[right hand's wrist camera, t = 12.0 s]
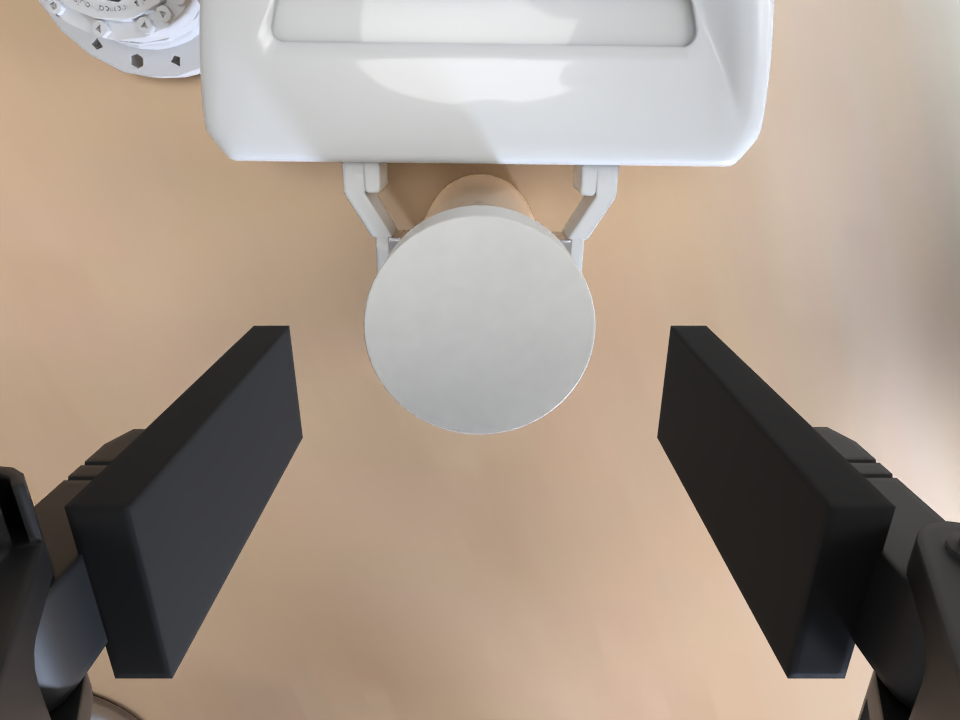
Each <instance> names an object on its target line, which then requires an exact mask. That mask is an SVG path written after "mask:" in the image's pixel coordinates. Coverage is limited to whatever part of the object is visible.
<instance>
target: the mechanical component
mask: <svg viewBox="0 0 960 720" xmlns="http://www.w3.org/2000/svg"><path fill="white" fill-rule="evenodd" d="M39 2H40V3H41V4H42V6H43V7H44V8H45V10H46V11H47V12H48V14H49V15H50V16H51V18H52V19H53V20H54V22H55V23H56V24H57V26H58V27H59V28H60V30H61V31H62V32H64V33H65V34H66V35H67V36H68V37H69V38H71V39H72V40H73V41H74V42H75V43H77V44H78V45H79V46H80V47H81V48H83V49H84V50H85V51H86V52H87V53H88V54H90V55H91V56H93V57H95V58H97V59H99V60H101V61H103V62H105V63H107V64H109V65H111V66H113V67H115V68H117V69H118V70H120V71H122V72H126V73H131V74H137V75H142V76H147V77H156V78H181V77H189V76H193V75H197V74H200V48H199V23H200V4H199V2H198V0H39ZM143 64H144V66H143Z"/></svg>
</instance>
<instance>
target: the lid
mask: <svg viewBox="0 0 960 720" xmlns="http://www.w3.org/2000/svg"><path fill="white" fill-rule="evenodd" d="M364 335H365V342H366V347H367V352H368V355H369V358H370V361H371V364H372V366H373V368H374V370H375V372H376V374H377V376H378V378H379V380H380V381H381V383H382V384H383V386H384V387H385V388H386V390H387V391H388V392H389V393H390V394H391V396H392V397H393V398H394V399H395V400H396V401H397V402H398V403H399V404H400V405H402V406H403V407H404V408H405V409H406V410H408V411H409V412H410V413H412V414H413V415H415V416H416V417H418V418H420V419H422V420H424V421H425V422H427V423H429V424H432V425H434V426H437V427H440V428H442V429H445V430H450V431H454V432H458V433H466V434H493V433H501V432H506V431H510V430H514V429H517V428H520V427H523V426H525V425H528V424H530V423H532V422H534V421H536V420H538V419H540V418H541V417H543V416H544V415H546V414H547V413H549V412H550V411H552V410H553V409H554V408H555V407H557V406H558V405H559V404H560V403H561V402H562V401H563V400H564V399H565V398H566V397H567V396H568V395H569V394H570V393H571V392H572V390H573V389H574V387H575V386H576V385H577V383H578V382H579V380H580V379H581V377H582V375H583V373H584V371H585V369H586V367H587V364H588V362H589V359H590V356H591V353H592V349H593V344H594V338H595V311H594V306H593V301H592V296H591V293H590V291H589V288H588V285H587V282H586V281H585V279H584V277H583V275H582V273H581V271H580V269H579V268H578V266H577V264H576V263H575V261H574V260H573V258H572V256H571V255H570V253H569V252H568V251H567V249H566V248H565V246H564V245H563V244H562V243H561V241H560V240H559V239H558V238H557V237H556V236H555V235H554V234H553V233H552V232H550V231H549V230H548V229H547V228H546V227H544V226H543V225H542V224H540V223H538V222H537V221H535V220H534V219H532V218H530V217H528V216H526V215H523V214H521V213H519V212H517V211H513V210H509V209H506V208H502V207H495V206H488V205H472V206H464V207H457V208H454V209H450V210H446V211H443V212H441V213H438V214H436V215H433V216H431V217H429V218H428V219H426V220H424V221H422V222H421V223H419V224H418V225H416V226H415V227H414V228H413V229H411V230H410V231H409V232H407V233H406V234H405V236H404V237H403V238H402V239H401V240H400V241H399V242H398V243H397V244H396V245H395V247H394V248H393V250H392V251H391V252H390V254H389V255H388V257H387V258H386V260H385V262H384V263H383V265H382V266H381V268H380V270H379V272H378V273H377V275H376V277H375V279H374V281H373V283H372V286H371V289H370V291H369V294H368V297H367V302H366V307H365V314H364Z"/></svg>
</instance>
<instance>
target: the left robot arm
mask: <svg viewBox="0 0 960 720" xmlns="http://www.w3.org/2000/svg"><path fill="white" fill-rule="evenodd" d="M198 2H199V4H200V23H199V48H200V76H201V92H202V104H203V114H204V122H205V127H206V130H207V132H208V134H209V136H210V137H211V138H212V140H213V141H214V142H215V143H216V144H217V145H218V146H219V148H220V149H221V150H222V151H223V152H224V153H225V154H226V155H227V156H228V157H229V158H230V159H232V160H236V161H295V162H342V167H343V181H344V194H345V195H346V197H347V198H348V200H349V201H350V203H351V204H352V206H353V208H354V209H355V211H356V212H357V214H358V215H359V217H360V218H361V220H362V222H363V223H364V225H365V226H366V228H367V229H368V231H369V232H370V234H371V236H372V237H376V252H377V271H378V272H379V270H380V268H381V266H382V265H383V263H384V262H385V260H386V258H387V257H388V255H389V254H390V252H391V251H392V250H393V248H394V247H395V245H396V244H397V243H398V242H399V241H400V240H401V239H402V238H403V237H404V236H405V234H406V233H407V232H409V231H410V230H397V227H396V226H395V224H394V222H393V220H392V219H391V217H390V215H389V214H388V212H387V210H386V208H385V207H384V205H383V203H382V202H381V200H380V198H379V196H378V195H377V193H378V192H379V191H381V190H382V189H383V188H384V187H385V186H386V185H387V184H388V181H387V163H466V164H551V165H574V184H573V187H574V188H575V189H576V190H577V191H579V192H580V193H581V194H582V195H584V196H583V198H582V200H581V201H580V203H579V204H578V206H577V208H576V209H575V211H574V213H573V214H572V216H571V217H570V219H569V221H568V222H567V224H566V226H565V227H564V229H563V230H562V231H563V232H552V233H553V234H554V235H555V236H556V237H557V238H558V239H559V240H560V241H561V243H562V244H563V245H564V246H565V248H566V249H567V251H568V252H569V253H570V255H571V256H572V258H573V260H574V261H575V263H576V264H577V266H578V268H579V269H580V271H581V273H582V260H583V247H584V240H587V239H588V238H589V236H590V235H591V233H592V232H593V230H594V229H595V227H596V226H597V224H598V223H599V221H600V220H601V219H602V217H603V216H604V214H605V213H606V211H607V210H608V208H609V207H610V205H611V204H612V202H613V201H614V199H615V198H616V194H617V183H618V173H619V165H636V166H727V167H728V166H732V165H734V164H735V163H736V162H737V161H738V160H739V159H740V158H741V157H742V156H743V155H744V154H745V153H746V152H747V150H748V149H749V148H750V147H751V146H752V145H753V144H754V142H755V141H756V140H757V138H758V136H759V133H760V130H761V126H762V122H763V117H764V111H765V104H766V98H767V90H768V82H769V73H770V64H771V52H772V38H773V16H774V0H198Z"/></svg>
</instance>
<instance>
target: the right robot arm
mask: <svg viewBox="0 0 960 720" xmlns="http://www.w3.org/2000/svg"><path fill="white" fill-rule="evenodd" d="M302 438H303V436H302V428H301V420H300V411H299V403H298V395H297V387H296V378H295V370H294V362H293V354H292V345H291V337H290V329H289V326H253V327H252V328H251V329H250V330H249V331H248V332H247V333H246V334H245V335H244V336H243V337H242V338H241V339H240V340H239V341H238V342H236V343H235V344H234V345H233V346H232V347H231V348H230V349H229V350H228V351H227V352H226V353H225V354H224V355H223V356H222V357H221V358H220V359H219V360H218V361H217V362H215V363H214V364H213V365H212V366H211V367H210V368H209V369H208V370H207V371H206V372H205V373H204V374H203V375H202V376H201V377H200V378H199V379H198V380H197V381H196V382H195V383H193V384H192V385H191V386H190V387H189V388H188V389H187V390H186V391H185V392H184V393H183V394H182V395H181V396H180V397H179V398H178V399H177V400H176V401H175V402H174V403H173V404H171V405H170V406H169V407H168V408H167V409H166V410H165V411H164V412H163V413H162V414H161V415H160V416H159V417H158V418H157V419H156V420H155V421H154V422H153V423H152V424H150V425H149V426H148V427H147V428H146V429H133V430H131V431H129V432H127V433H125V434H123V435H122V436H120V437H118V438H116V439H114V440H112V441H110V442H108V443H106V444H104V445H103V446H102V447H101V448H100V449H99V450H98V451H97V452H95V453H94V454H93V455H92V456H91V457H90V458H89V459H88V460H86V461H85V465H81V466H80V467H79V468H77V469H76V470H75V471H74V472H73V473H72V474H71V475H70V476H68V480H64V481H63V482H62V483H61V484H59V485H58V486H57V487H56V488H55V489H54V490H53V491H52V492H50V493H49V494H48V495H47V496H46V497H45V498H44V499H43V500H41V501H40V502H39V503H38V504H37V505H36V506H35V507H34V505H33V502H32V499H31V496H30V493H29V490H28V487H27V484H26V480H25V477H24V474H23V473H21V472H19V471H18V470H16V469H14V468H11V467H1V466H0V720H138V719H137V718H135V717H134V716H133V715H131V714H130V713H128V712H127V711H125V710H123V709H122V708H120V707H118V706H116V705H114V704H112V703H110V702H108V701H106V700H104V699H101V698H99V697H96V696H93V694H92V687H91V683H90V680H89V677H88V674H87V671H88V670H89V669H90V667H91V666H92V664H93V663H94V661H95V660H96V659H97V657H98V656H99V654H100V653H101V651H102V650H103V649H104V647H105V646H106V649H107V652H108V656H109V659H110V662H111V666H112V669H113V672H114V676H115V678H173V676H174V674H175V672H176V670H177V668H178V667H179V665H180V663H181V661H182V659H183V657H184V656H185V654H186V652H187V650H188V648H189V646H190V644H191V643H192V641H193V639H194V637H195V635H196V633H197V632H198V630H199V628H200V626H201V624H202V622H203V620H204V619H205V617H206V615H207V613H208V611H209V609H210V608H211V606H212V604H213V602H214V600H215V598H216V597H217V595H218V593H219V591H220V589H221V587H222V585H223V584H224V582H225V580H226V578H227V576H228V574H229V573H230V571H231V569H232V567H233V565H234V563H235V561H236V560H237V558H238V556H239V554H240V552H241V550H242V549H243V547H244V545H245V543H246V541H247V539H248V537H249V536H250V534H251V532H252V530H253V528H254V526H255V525H256V523H257V521H258V519H259V517H260V515H261V513H262V512H263V510H264V508H265V506H266V504H267V502H268V501H269V499H270V497H271V495H272V493H273V491H274V489H275V488H276V486H277V484H278V482H279V480H280V478H281V477H282V475H283V473H284V471H285V469H286V467H287V465H288V464H289V462H290V460H291V458H292V456H293V454H294V453H295V451H296V449H297V447H298V445H299V443H300V442H301V440H302ZM657 438H658V440H659V442H660V443H661V445H662V447H663V449H664V451H665V453H666V454H667V456H668V458H669V460H670V462H671V464H672V465H673V467H674V469H675V471H676V473H677V475H678V477H679V478H680V480H681V482H682V484H683V486H684V488H685V489H686V491H687V493H688V495H689V497H690V499H691V501H692V502H693V504H694V506H695V508H696V510H697V512H698V513H699V515H700V517H701V519H702V521H703V523H704V525H705V526H706V528H707V530H708V532H709V534H710V536H711V537H712V539H713V541H714V543H715V545H716V547H717V549H718V550H719V552H720V554H721V556H722V558H723V560H724V561H725V563H726V565H727V567H728V569H729V571H730V573H731V574H732V576H733V578H734V580H735V582H736V584H737V585H738V587H739V589H740V591H741V593H742V595H743V597H744V598H745V600H746V602H747V604H748V606H749V608H750V609H751V611H752V613H753V615H754V617H755V619H756V620H757V622H758V624H759V626H760V628H761V630H762V632H763V633H764V635H765V637H766V639H767V641H768V643H769V644H770V646H771V648H772V650H773V652H774V654H775V656H776V657H777V659H778V661H779V663H780V665H781V667H782V668H783V670H784V672H785V674H786V676H787V678H845V676H846V672H847V669H848V666H849V662H850V659H851V655H852V652H853V649H854V645H855V644H856V645H857V647H858V648H859V649H860V651H861V652H862V654H863V655H864V657H865V658H866V659H867V661H868V662H869V664H870V665H871V666H872V668H873V669H874V671H873V674H872V677H871V680H870V683H869V686H868V690H867V693H866V696H865V699H864V702H863V705H862V708H861V711H860V715H859V718H858V720H960V523H957V522H949V521H945V520H944V519H943V518H941V517H940V516H939V515H938V514H937V513H936V512H935V511H933V510H932V509H931V508H930V507H929V506H928V505H927V504H926V503H924V502H923V501H922V500H921V499H920V498H919V497H918V496H916V495H915V494H914V493H913V492H912V491H911V490H910V489H909V488H907V487H906V486H905V485H904V484H903V483H902V482H901V481H899V480H898V479H897V478H893V477H892V473H890V472H889V471H888V470H887V469H886V468H885V467H884V466H882V465H881V464H880V463H876V459H875V458H873V457H872V456H871V455H870V454H869V453H868V452H867V451H865V450H864V449H863V448H862V447H861V446H860V445H859V444H858V443H856V442H855V441H853V440H851V439H849V438H847V437H845V436H843V435H841V434H839V433H837V432H835V431H833V430H832V429H830V428H828V427H812V426H811V425H810V424H808V423H807V422H806V421H805V420H804V419H803V418H802V417H801V416H800V415H799V414H798V413H797V412H796V411H795V410H794V409H793V408H792V407H791V406H790V405H789V404H787V403H786V402H785V401H784V400H783V399H782V398H781V397H780V396H779V395H778V394H777V393H776V392H775V391H774V390H773V389H772V388H771V387H770V386H769V385H768V384H767V383H765V382H764V381H763V380H762V379H761V378H760V377H759V376H758V375H757V374H756V373H755V372H754V371H753V370H752V369H751V368H750V367H749V366H748V365H747V364H746V363H744V362H743V361H742V360H741V359H740V358H739V357H738V356H737V355H736V354H735V353H734V352H733V351H732V350H731V349H730V348H729V347H728V346H727V345H726V344H725V343H724V342H722V341H721V340H720V339H719V338H718V337H717V336H716V335H715V334H714V333H713V332H712V331H711V330H710V329H709V328H708V327H707V326H671V329H670V337H669V345H668V354H667V362H666V370H665V378H664V387H663V395H662V403H661V411H660V420H659V428H658V436H657Z"/></svg>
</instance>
